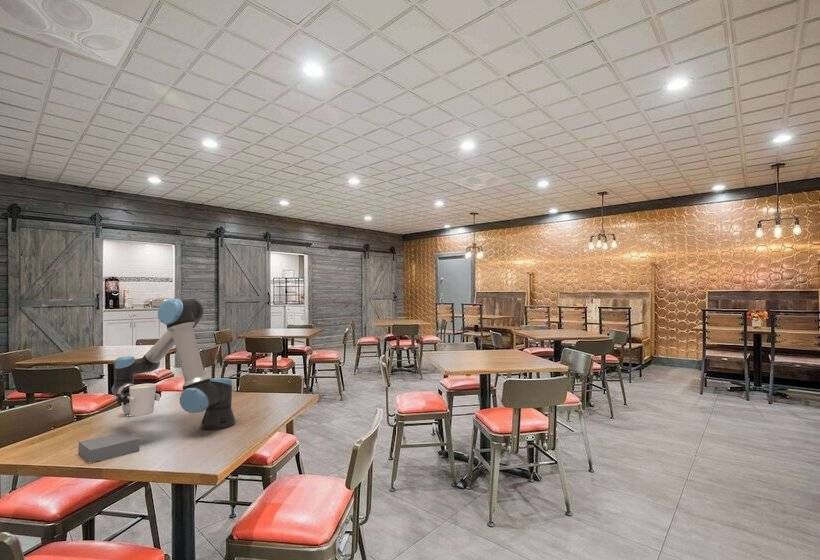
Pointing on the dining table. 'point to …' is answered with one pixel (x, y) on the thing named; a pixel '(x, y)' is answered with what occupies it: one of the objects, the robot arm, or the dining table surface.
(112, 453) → the riser block
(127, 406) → the teacup
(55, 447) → the dining table surface
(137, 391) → the candle holder
